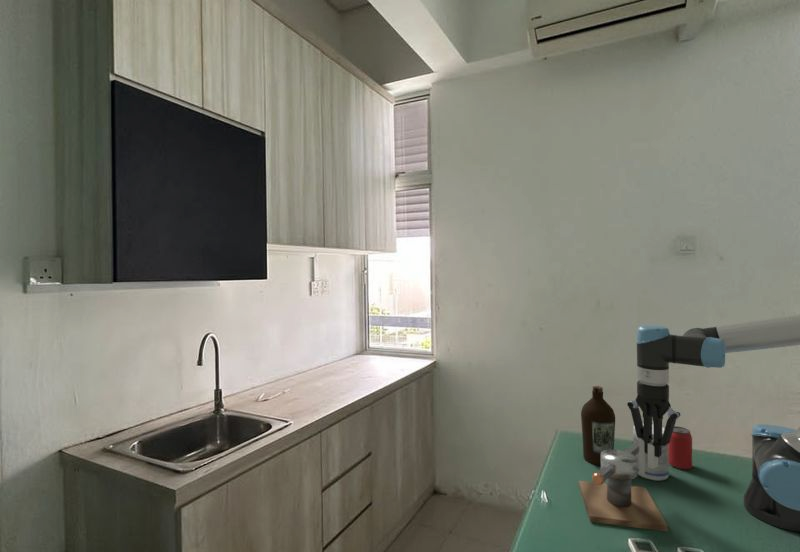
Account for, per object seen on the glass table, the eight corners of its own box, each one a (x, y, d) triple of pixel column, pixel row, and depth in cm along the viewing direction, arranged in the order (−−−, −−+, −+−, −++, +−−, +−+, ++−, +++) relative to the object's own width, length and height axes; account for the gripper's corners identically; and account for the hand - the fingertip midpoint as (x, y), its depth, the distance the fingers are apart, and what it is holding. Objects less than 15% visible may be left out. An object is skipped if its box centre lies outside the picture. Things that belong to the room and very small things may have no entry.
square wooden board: (645, 492, 121) (644, 459, 121) (667, 531, 104) (667, 493, 103) (578, 485, 126) (578, 454, 125) (590, 521, 108) (589, 485, 108)
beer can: (665, 465, 137) (665, 429, 136) (671, 458, 141) (671, 424, 141) (689, 472, 132) (689, 435, 131) (694, 465, 136) (694, 429, 136)
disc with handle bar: (619, 451, 126) (619, 438, 126) (652, 461, 119) (652, 447, 119) (578, 483, 108) (578, 468, 108) (614, 497, 102) (614, 481, 101)
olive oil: (576, 452, 147) (575, 382, 147) (607, 452, 147) (606, 382, 146) (588, 466, 137) (588, 392, 136) (621, 466, 136) (621, 391, 135)
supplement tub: (674, 475, 130) (674, 429, 130) (659, 485, 125) (659, 437, 124) (642, 463, 138) (642, 420, 138) (627, 472, 133) (627, 427, 132)
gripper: (621, 379, 117) (622, 461, 118) (673, 390, 106) (673, 480, 107) (634, 374, 121) (635, 453, 122) (685, 385, 111) (685, 471, 111)
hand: (652, 466), depth 115 cm, fingers closed
